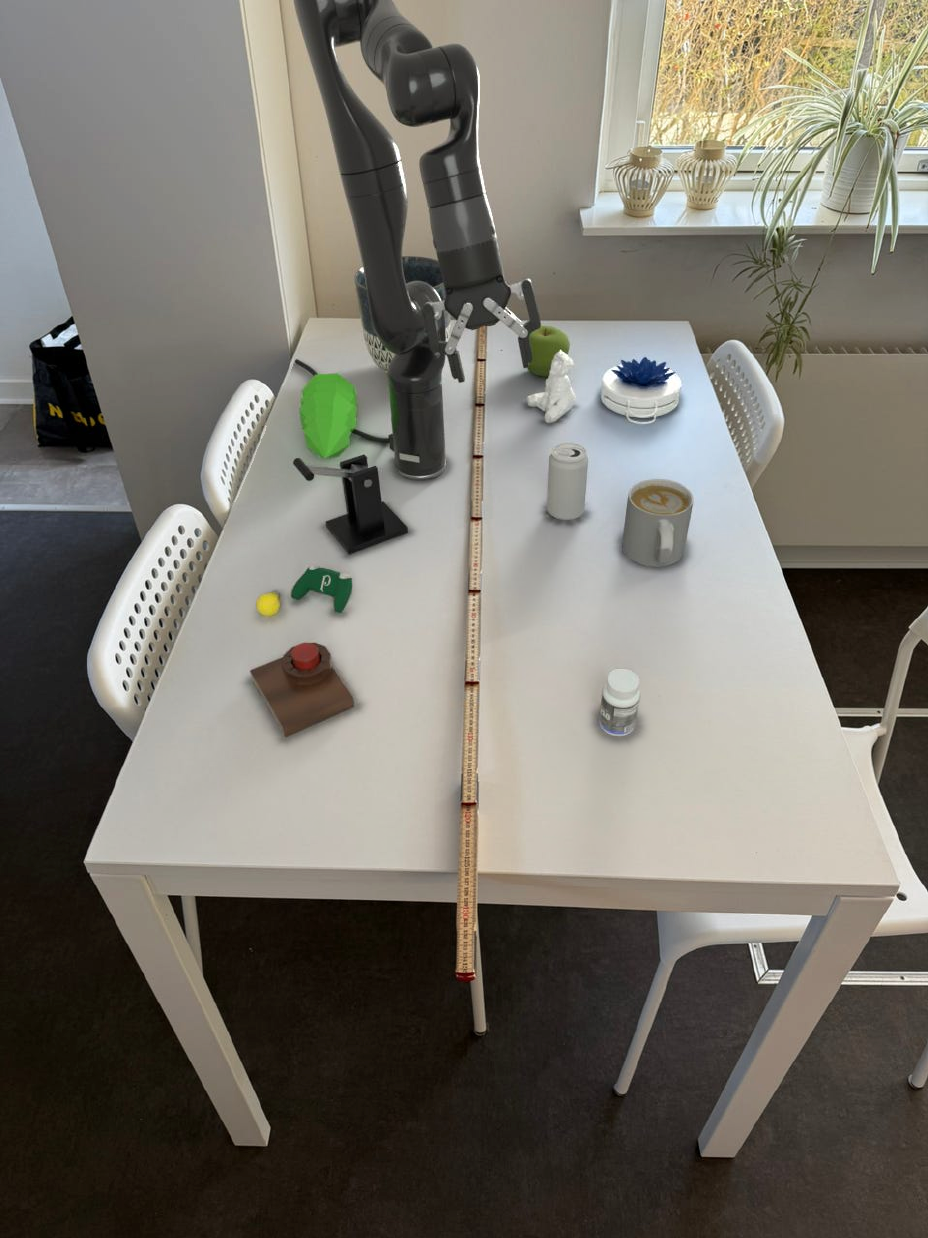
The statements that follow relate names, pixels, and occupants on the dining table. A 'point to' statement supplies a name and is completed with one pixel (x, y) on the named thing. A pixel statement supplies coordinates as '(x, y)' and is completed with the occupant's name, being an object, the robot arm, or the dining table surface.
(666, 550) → the coffee mug
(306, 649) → the button
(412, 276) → the planter
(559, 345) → the apple
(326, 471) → the lever
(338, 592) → the gaming controller
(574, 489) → the beverage can
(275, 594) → the light bulb
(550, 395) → the sitting furry creature
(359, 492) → the bracket
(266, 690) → the button block
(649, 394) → the lotus flower trinket box
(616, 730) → the pill bottle
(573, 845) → the dining table surface
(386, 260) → the robot arm
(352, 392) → the green oblong ovoid
